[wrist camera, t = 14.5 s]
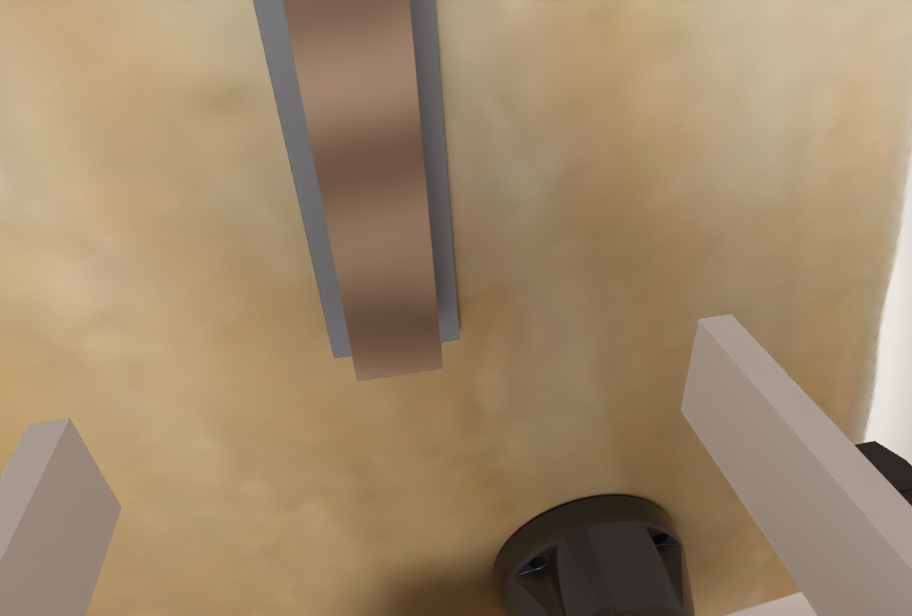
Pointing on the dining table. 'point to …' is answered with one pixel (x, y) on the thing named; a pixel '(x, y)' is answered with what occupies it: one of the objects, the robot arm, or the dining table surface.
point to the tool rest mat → (306, 176)
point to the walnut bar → (370, 175)
